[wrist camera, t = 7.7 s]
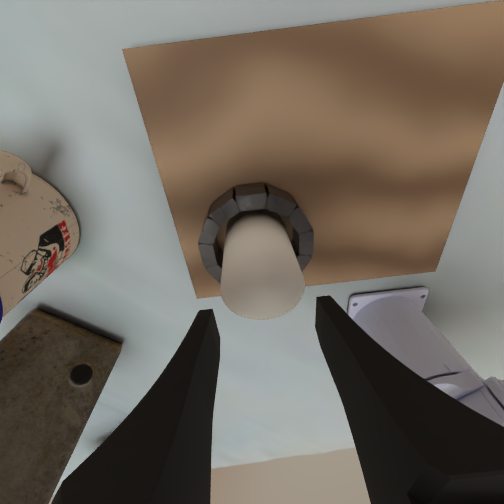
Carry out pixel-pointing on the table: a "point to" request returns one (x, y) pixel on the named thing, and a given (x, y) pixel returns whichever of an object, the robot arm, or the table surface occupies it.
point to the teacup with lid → (30, 231)
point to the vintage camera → (46, 401)
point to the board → (328, 130)
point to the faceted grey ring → (253, 199)
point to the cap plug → (259, 266)
